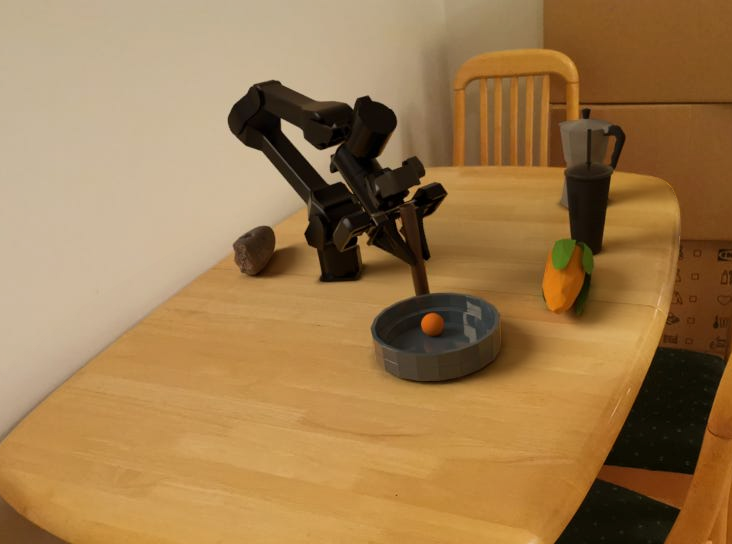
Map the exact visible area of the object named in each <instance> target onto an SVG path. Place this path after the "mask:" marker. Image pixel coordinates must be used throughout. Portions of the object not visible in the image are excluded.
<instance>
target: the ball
mask: <svg viewBox="0 0 732 544" xmlns="http://www.w3.org/2000/svg"><path fill="white" fill-rule="evenodd" d="M421 327H422V330H423V331H424V333H425V334H427V335H429V336H436V335H438V334H440V333H441V332H442V330H443V328H444V321H443V319H442V317H441V316H440V315H438V314H435V313H430V314H427V315H426V316H425V317H424V318H423V319H422V322H421Z"/></svg>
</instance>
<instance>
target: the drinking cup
mask: <svg viewBox="0 0 732 544" xmlns="http://www.w3.org/2000/svg"><path fill="white" fill-rule="evenodd" d="M591 135H592V129H587V160H586V161H585V162H580V163H577V164H575V165H573V166H571V167H568V168H567V167H566V168H565V169H564V170H563V176H564V178H565V177H566V186H567V198H568V208H567V209H568V220H569V231H570V233H569V234H570V239H572V240H576V243H575V245H576V244H578V243H579V242H583V243H585V244H586V245H587V246H588V247H589V248H590V249H591V251H592V254H593V256H594V255H597V254H600V253H601V251H602V247H603V239H604V231H605V225H606V218H607V209H608V203H609V200H608V197H609V196H610V187H611V179H612V175H614V170H613V168H612V167H611V166H609V165H610V164H605V163H604V162H603V163H601V162H596V161H591Z"/></svg>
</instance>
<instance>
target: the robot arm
mask: <svg viewBox="0 0 732 544" xmlns="http://www.w3.org/2000/svg"><path fill="white" fill-rule="evenodd" d="M282 120H283V121H285V122H287V123H289V124H291V125H293V126H295V127H297V128H298V129H300V130H301V131H302V134H303V135H302V137H303V139H304V140H305V141H306V142H307V143H309V144H310V145H311V146H312V147H314V148H315V149H316V150H318V151H324V150H327V149H329V148H330V149H331V148H334V147H336V146H337V148H336V150H335V152H334V153H332V154H330V155H329V157H330V162H329V172H330V174H335V173H339V175H340V176H341V177H342V179H343V180H344V182H345V183H346V184H345V183H344V182H342V181H337V182H335V183H331V184H330V183H328V182H327V181H326V180H325V179H324V178H323V176H322V175H321V174H320V173H319V172H318V171H317V170H316V168H315V167H314V166H313V165H312V164H311V163H310V161H308V160H307V158H306V157H305V156H304V154H302V152H301V151H300V150H299V149H298V147H296V146H295V144H293V142H292V141H291V140H290V139H289V138H288V136H287V135H286V134H285V133H284V132H283V130H282ZM227 126H228V128H229V131H230V132H231V134H232V135H234V136H235V138H236V139H237V140H238V141H240V143H242V144H243V145H244V146H245V147H248V148H250V149H252V150H253V149H254V150H256V151H259V152H261V153H262V154H263V155H264V156H265V157H266V158H267V159H268V161H269V162H270V163H271V164H272V165H273V167H274V168H275V169H276V170H277V171H278V172H279V174H280V175H281V176H282V177H283V179H284V180H285V181H286V182H287V183H288V185H290V187H291V188H292V189H293V190H294V192H295V193H296V194H297V195H298V196H299V198H300V199H301V200H302V201H303V202H304V203H305V205H306V208H307V221H308V224H307V227H306V229H305V231H304V233H303V236H304V238H305V240H306V243H307V245H308V247H311V248H314V249H316V253H317V256H318V263H319V266H320V268H319V269H320V273H321V274H320V276H319V278H318V281H319V282H337V281H355V280H356V279H357V277H358V276H359V273H360V272H361V270H362V269H363V266H364V264H363V259H362V252H361V247H360V244H358V240H359V237H362V236H363V235H364V233H365V234H366V235H367V236H366V237H368V240H367V241H366V245H367V246H368V247H371V246H373V247H376V248H378V249H380V250H382V251H384V252H386V253H388V254H390V255H391V256H393V257H395V258H396V259H399V261H402V262H403V263H405V264H407V265H409V267H410V266H412V267H415V266H416V265H417V261H416V259H415V257H414V255H413V253H412V252H411V250H410V249H409V247H408V246H407V244H406V242H405V237H404V232H403V226H402V221H401V216H400V211H399V206H400V205H403V204H407V203H413V204H414V207H415V213H416V218H417V224H418V229H419V235H420V240H421V246H422V252H423V257H424V262H428V261H430V259H431V253H430V252H431V251H430V248H429V245H428V241H427V237H426V232H425V226H424V219H425V218H428V217H430V216H431V215H433V214H434V213H436V211H437V210H438V209H439V207H440V206H441V204H442V203H443V202H444V200H445V199H446V198H447V196H448V195H449V193H448V191H447V190H446V189H445V187H444V186H443V184H442V183H441V182H438V181H433V182H431V183H428V184H426V185H423V186H420V185H422V182H421V180H420V179H422V178H424V177H425V176H426V173H427V171H426V168H425V166H424V164H423V163H422V161H421V160H420V159H419V157H418V156H417V155H413V156H411V157H408V158H406V159H405V160H402V162H401V166H399V167H396V168H394V169H392V168H391V167H389V166H387V167H382V165H381V164H380V162H379V160H377V159H378V157H380V156H382V154H383V153H384V151H385V149H386V147H387V145H388V144H389V141H390V139H392V136H393V134H394V132H395V131H396V129H397V126H398V117H397V115H396V113H395V111H394V110H393V109H392V108H390V107H388V106H387V105H386V104H384V103H383V102H379V101H376V100H373V99H372V98H371V96H370V95H368V94H367V95H363V96H360V97H356V100H355V102H354V104H353V107H352V106H351V105H350V104H348V103H346V102H343V101H337V100H336V101H335V100H325V101H322V100H321V101H320V100H315V99H313V98H311V97H309V96H307V95H305V94H303V93H300V92H298V91H296V90H294V89H293V88H290V87H288V86H285V85H283V84H282V82H281V81H280V80H277V79H269V80H266V81H265V80H264V81H260V82H256V83H254V84H253V85H251V86H250V87H249V88H248V90H247V92H246V93H245V94H244V95H243V96H242V97H240V99H238V100H237V101H236V102H235V103H234V104H233V105H232V107H231V108H230V111H229V113H228V114H227ZM416 186H420V187H418V188H417V189H416V191H415V192H414V194H413V195H412V197H411V199H409V200H406V201H405V199H406V198H407V197H409V195H410V193H411V192H410V190H409V189H411V188H413V187H416ZM397 220H398V221H399V223H400V224H401V227H400V229H398V226H397Z"/></svg>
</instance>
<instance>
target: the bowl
mask: <svg viewBox="0 0 732 544" xmlns="http://www.w3.org/2000/svg"><path fill="white" fill-rule="evenodd" d="M430 313H435V314H438V315H440V316H441V317H442V319H443V321H444V328H443V330H442V332H441V333H440V334H438V335H436V336H429V335H427V334H425V333H424V331H423V330H422V327H421V322H422V319H423V318H424V317H425V316H426V315H427V314H430ZM369 328H370V335H371V341H372V346H373V354H374V358H375V362H376V363H377V364H378V365H379V366H380V367H381V368H382V369H383V371H385V372H387V373H389V374H391V375H393V376H395V377H398V378H401V379H405V380H413V381H418V382H427V381H428V382H430V381H431V382H432V381H435V382H436V381H439V382H440V381H445V380H452V379H456V378H462V377H464V376H467V375H469V374H472V373H474V372H477V371H480V370H481V369H483V368H484V367H485V366H487V365H489V364H490V363H491V362H493V361H494V360H495V358H496V357H497V355H498V354H499V352H501V349H502V328H501V314H500V312H499V311H498V309H497V308H496V306H495V304H493V303H491V302H489V301H488V300H486V299H485V298H482V297H480V296H475V295H472V294H469V293H462V292H461V293H460V292H451V291H450V292H430V294H425V295H419V296H416V295H415V296H411V297H407V298H405V299H402V300H399V301H397V302H396V301H395V303H393V304H391V305H389V306H387V307H386V308H384V309H383V310H382V311H380V312H379V313H378V314H377V315H376V316H375V317H374V318H373V321H372V323H371V326H370V327H369Z"/></svg>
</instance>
